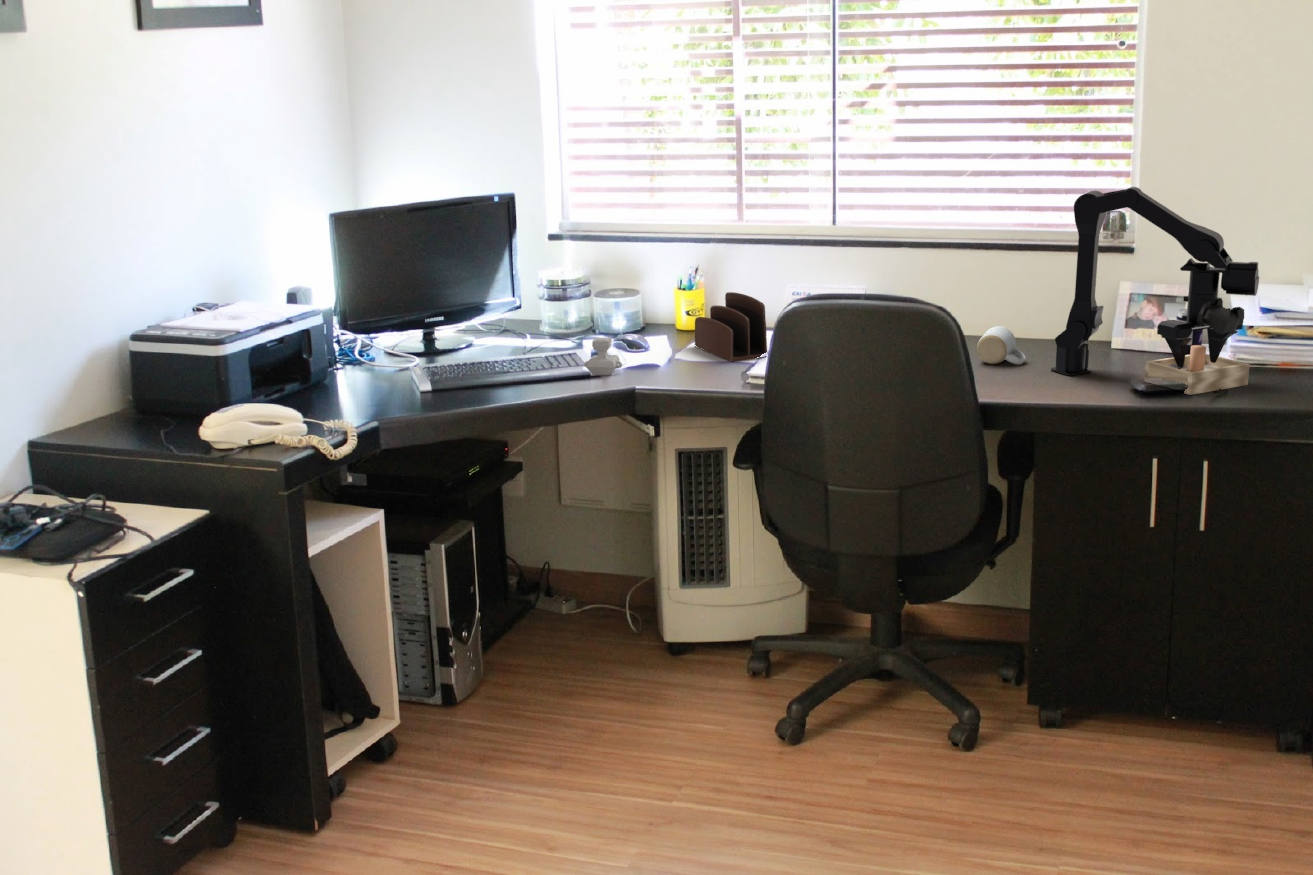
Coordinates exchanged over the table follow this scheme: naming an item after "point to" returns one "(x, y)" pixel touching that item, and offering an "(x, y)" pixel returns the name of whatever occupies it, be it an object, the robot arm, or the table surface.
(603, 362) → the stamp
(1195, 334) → the beverage can
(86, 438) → the table surface
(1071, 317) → the robot arm
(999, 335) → the ceramic mug
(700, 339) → the letter holder
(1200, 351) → the peg
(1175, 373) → the tray
